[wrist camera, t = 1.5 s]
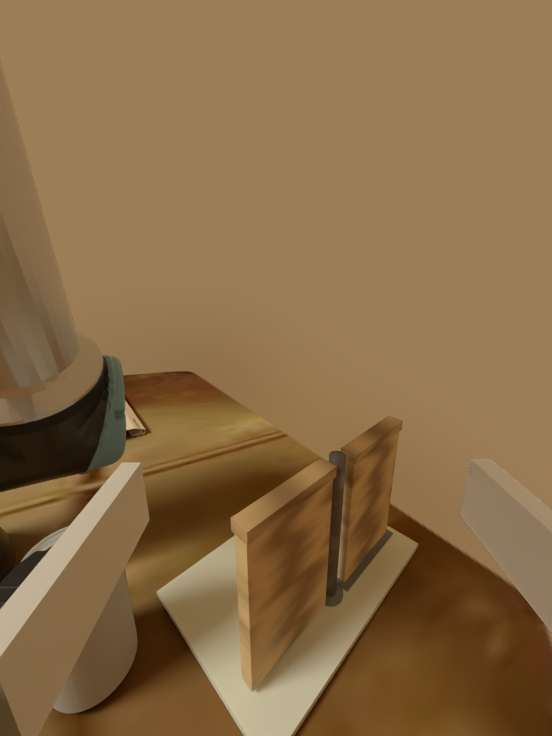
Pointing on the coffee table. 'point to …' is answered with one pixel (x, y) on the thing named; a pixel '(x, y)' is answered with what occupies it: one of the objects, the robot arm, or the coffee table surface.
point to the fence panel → (287, 562)
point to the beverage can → (99, 648)
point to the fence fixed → (366, 492)
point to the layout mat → (307, 653)
